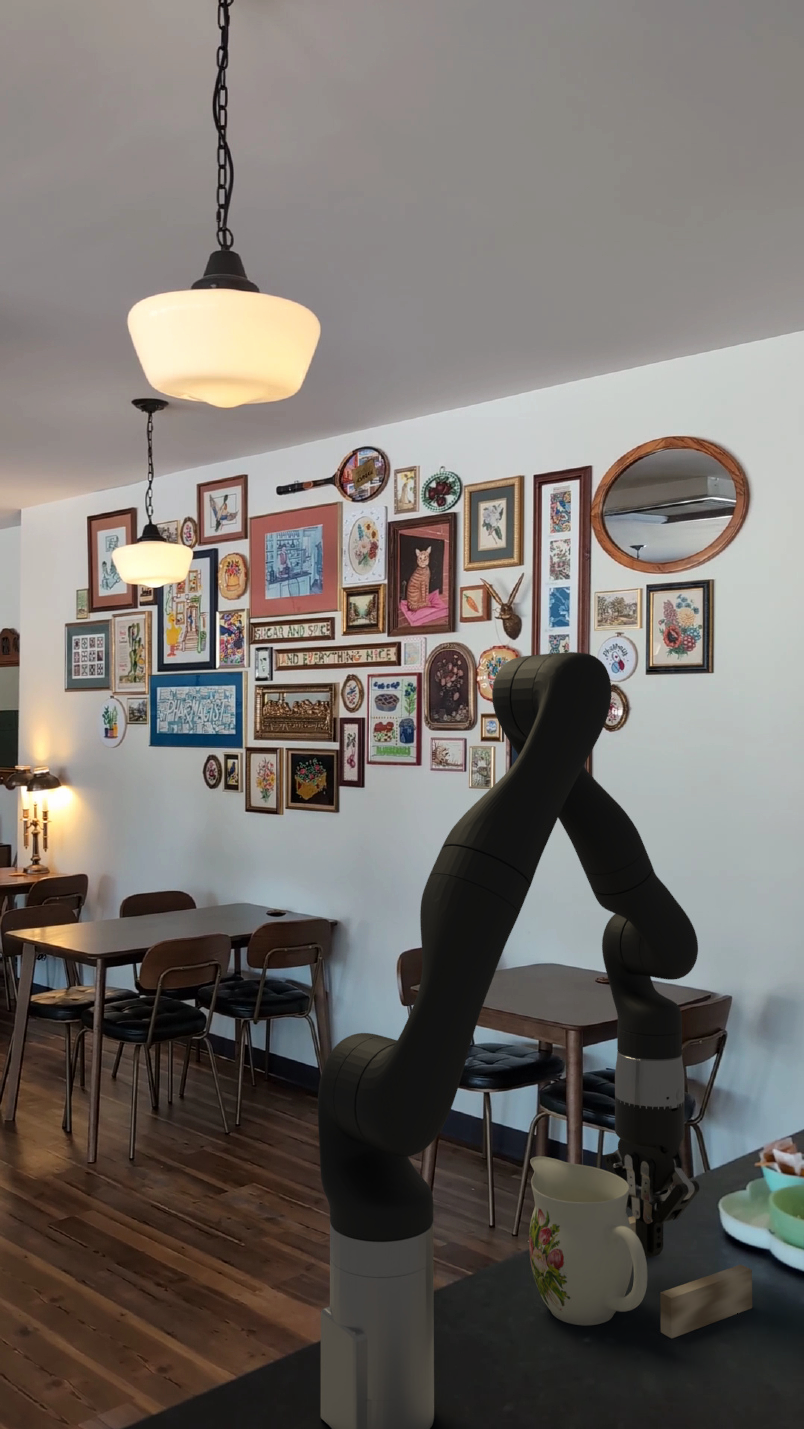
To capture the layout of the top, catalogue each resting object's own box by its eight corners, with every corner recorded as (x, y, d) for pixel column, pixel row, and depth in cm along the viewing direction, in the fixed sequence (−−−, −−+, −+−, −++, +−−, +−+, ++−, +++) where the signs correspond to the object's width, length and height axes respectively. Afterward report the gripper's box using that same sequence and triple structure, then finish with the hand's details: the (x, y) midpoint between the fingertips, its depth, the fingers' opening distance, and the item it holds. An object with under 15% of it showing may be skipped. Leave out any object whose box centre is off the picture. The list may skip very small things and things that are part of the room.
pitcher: (601, 1366, 112) (599, 1221, 112) (496, 1292, 127) (494, 1165, 128) (687, 1337, 117) (684, 1198, 118) (575, 1270, 133) (574, 1148, 133)
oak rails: (671, 1338, 117) (671, 1298, 117) (557, 1274, 132) (557, 1238, 132) (752, 1307, 124) (751, 1269, 124) (635, 1249, 138) (634, 1215, 138)
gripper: (583, 1084, 132) (583, 1240, 131) (669, 1114, 121) (669, 1284, 120) (631, 1075, 136) (631, 1226, 135) (719, 1103, 125) (719, 1268, 124)
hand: (649, 1253), depth 128 cm, fingers closed
